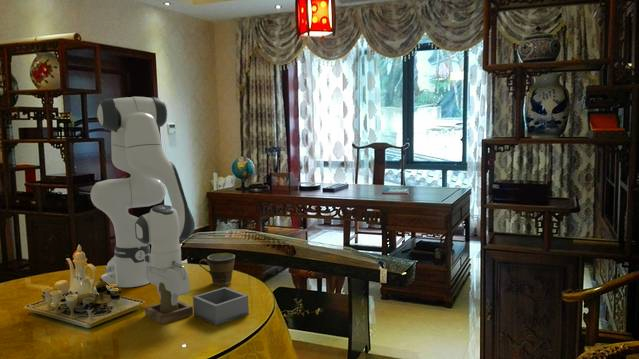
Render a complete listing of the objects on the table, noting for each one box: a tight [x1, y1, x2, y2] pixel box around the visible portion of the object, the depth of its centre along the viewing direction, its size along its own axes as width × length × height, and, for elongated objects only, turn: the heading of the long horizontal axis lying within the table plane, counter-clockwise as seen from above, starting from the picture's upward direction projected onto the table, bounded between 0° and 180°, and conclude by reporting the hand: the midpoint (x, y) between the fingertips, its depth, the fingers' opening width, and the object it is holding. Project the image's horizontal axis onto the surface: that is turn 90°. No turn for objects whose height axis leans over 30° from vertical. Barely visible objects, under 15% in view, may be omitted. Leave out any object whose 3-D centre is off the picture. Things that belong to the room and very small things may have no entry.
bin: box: [192, 286, 250, 327], centre depth 160 cm, size 12×12×6 cm
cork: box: [159, 283, 178, 314], centre depth 160 cm, size 6×6×11 cm
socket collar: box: [144, 299, 194, 325], centre depth 160 cm, size 10×10×2 cm
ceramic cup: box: [198, 252, 236, 287], centre depth 189 cm, size 13×10×10 cm
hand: (168, 302), depth 160 cm, fingers closed on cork, 5 cm apart
